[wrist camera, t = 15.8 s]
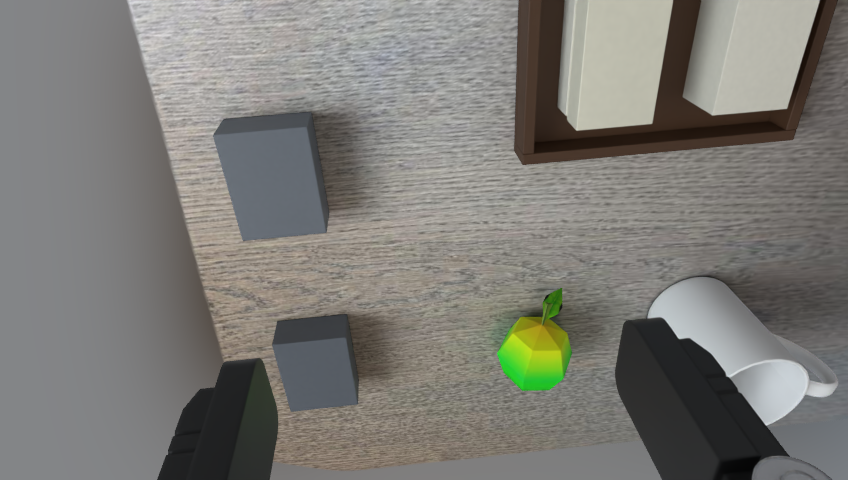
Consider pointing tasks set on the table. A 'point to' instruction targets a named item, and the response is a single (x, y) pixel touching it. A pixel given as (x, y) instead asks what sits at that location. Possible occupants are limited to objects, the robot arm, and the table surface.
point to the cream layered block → (611, 61)
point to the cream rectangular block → (747, 54)
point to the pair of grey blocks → (281, 217)
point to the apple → (537, 349)
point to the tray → (674, 115)
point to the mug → (743, 346)
